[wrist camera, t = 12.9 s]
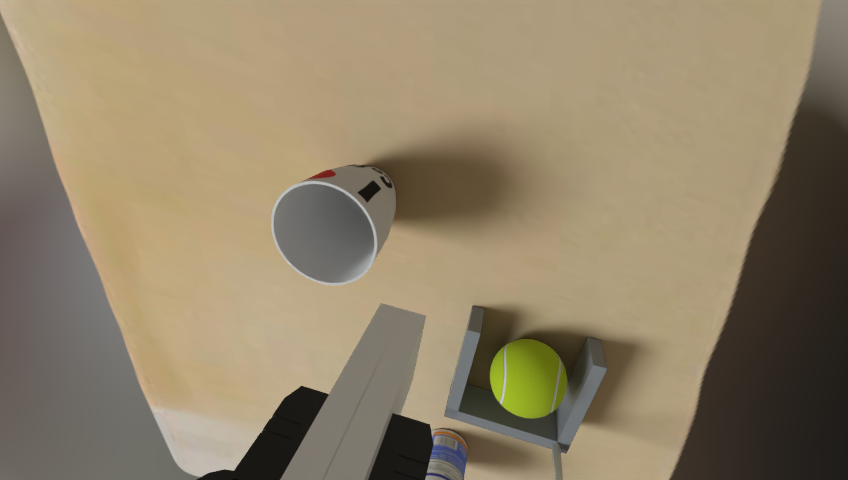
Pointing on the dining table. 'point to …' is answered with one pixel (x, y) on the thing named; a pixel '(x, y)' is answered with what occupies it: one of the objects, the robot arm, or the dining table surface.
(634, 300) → the dining table surface
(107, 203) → the dining table surface
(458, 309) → the dining table surface
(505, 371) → the tennis ball
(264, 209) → the dining table surface
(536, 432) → the gray u frame
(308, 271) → the cup
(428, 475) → the pill bottle
